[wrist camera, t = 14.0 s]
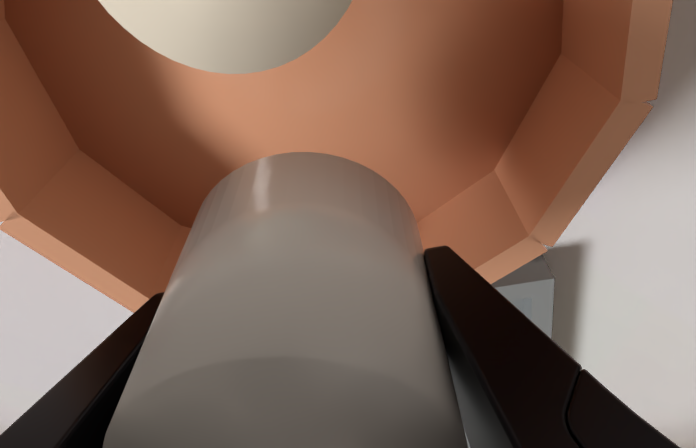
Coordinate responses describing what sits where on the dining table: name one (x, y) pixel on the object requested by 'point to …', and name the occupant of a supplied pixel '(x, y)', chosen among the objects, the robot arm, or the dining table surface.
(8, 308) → the dining table surface
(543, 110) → the bowl
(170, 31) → the pebble sand
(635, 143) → the dining table surface
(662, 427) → the dining table surface
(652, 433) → the robot arm
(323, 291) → the pebble grey
